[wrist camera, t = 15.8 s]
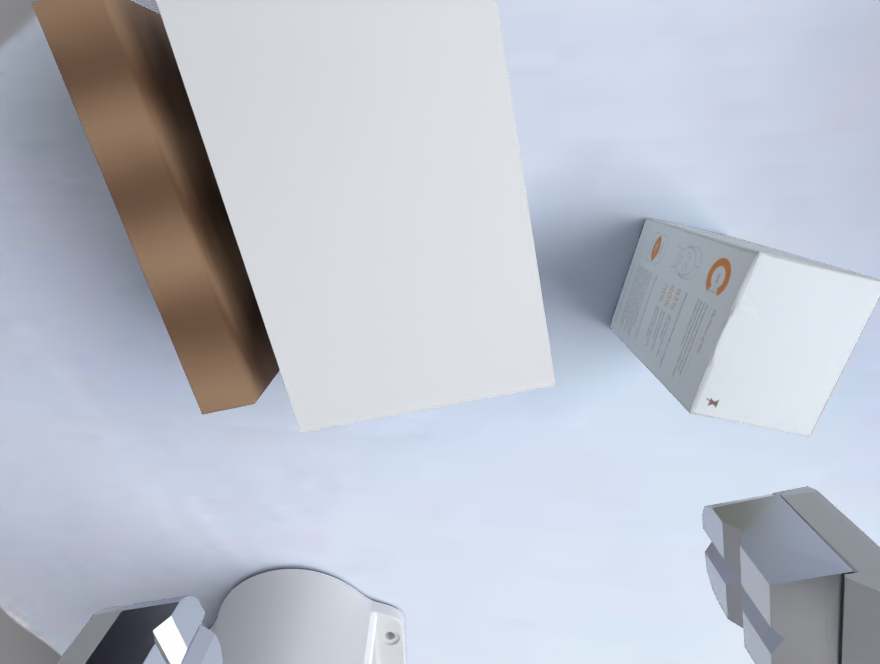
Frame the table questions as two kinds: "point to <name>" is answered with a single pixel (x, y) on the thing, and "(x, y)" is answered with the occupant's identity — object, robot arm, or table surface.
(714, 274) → the small box
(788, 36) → the table surface
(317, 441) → the table surface
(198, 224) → the door
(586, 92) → the table surface
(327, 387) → the cabinet
